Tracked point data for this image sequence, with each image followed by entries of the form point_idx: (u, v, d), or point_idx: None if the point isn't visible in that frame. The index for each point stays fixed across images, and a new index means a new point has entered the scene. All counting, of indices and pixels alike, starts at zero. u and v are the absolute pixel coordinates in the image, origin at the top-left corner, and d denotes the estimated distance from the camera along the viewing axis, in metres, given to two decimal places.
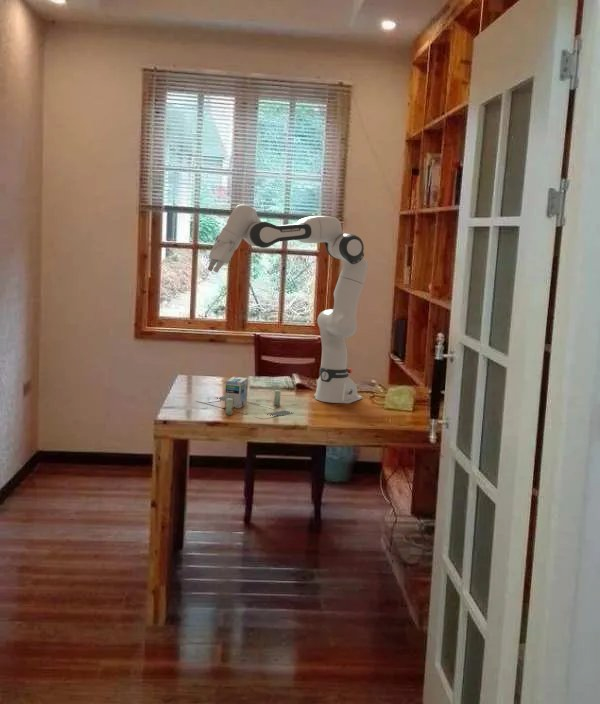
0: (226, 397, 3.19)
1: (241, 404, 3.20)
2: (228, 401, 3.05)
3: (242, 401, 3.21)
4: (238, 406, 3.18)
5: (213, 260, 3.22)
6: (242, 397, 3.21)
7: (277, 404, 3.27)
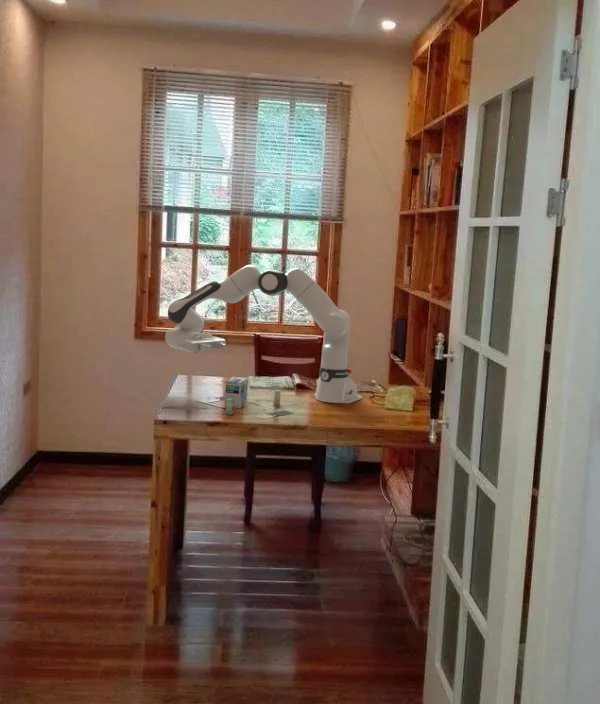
0: (226, 397, 3.19)
1: (241, 404, 3.20)
2: (228, 401, 3.05)
3: (242, 401, 3.21)
4: (238, 406, 3.18)
5: (217, 345, 3.35)
6: (242, 397, 3.21)
7: (277, 404, 3.27)
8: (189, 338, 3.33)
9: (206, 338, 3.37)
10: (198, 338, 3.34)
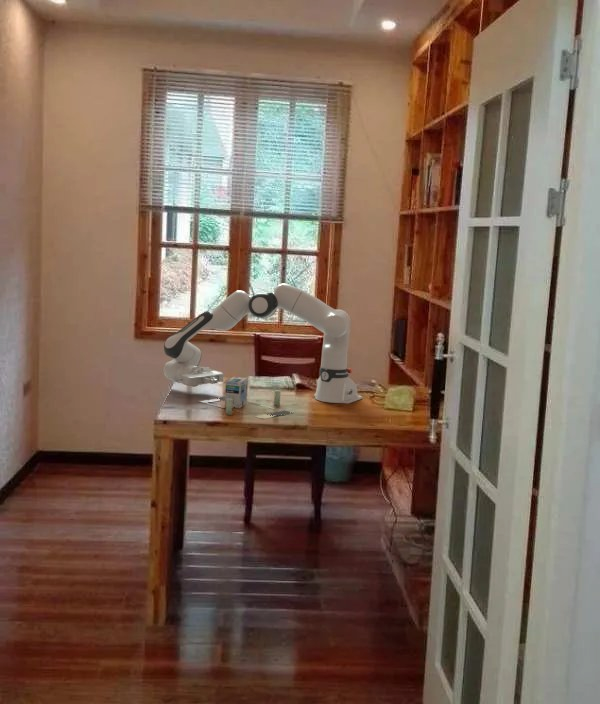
0: (226, 397, 3.19)
1: (241, 404, 3.20)
2: (228, 401, 3.05)
3: (242, 401, 3.21)
4: (238, 406, 3.18)
5: None
6: (242, 397, 3.21)
7: (277, 404, 3.27)
8: (187, 372, 3.36)
9: (204, 372, 3.40)
10: (196, 372, 3.36)
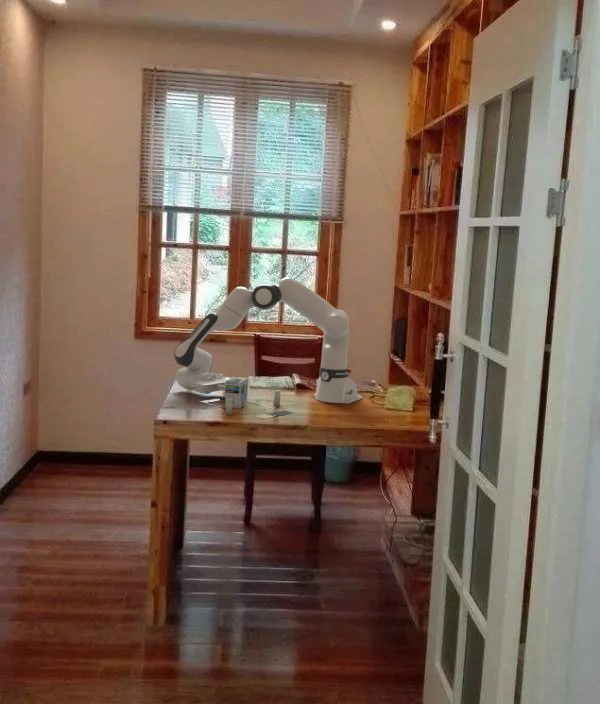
0: (226, 397, 3.19)
1: (241, 404, 3.20)
2: (228, 401, 3.05)
3: (242, 401, 3.21)
4: (238, 406, 3.18)
5: None
6: (243, 397, 3.21)
7: (277, 404, 3.27)
8: (200, 379, 3.31)
9: (217, 378, 3.35)
10: (209, 379, 3.32)
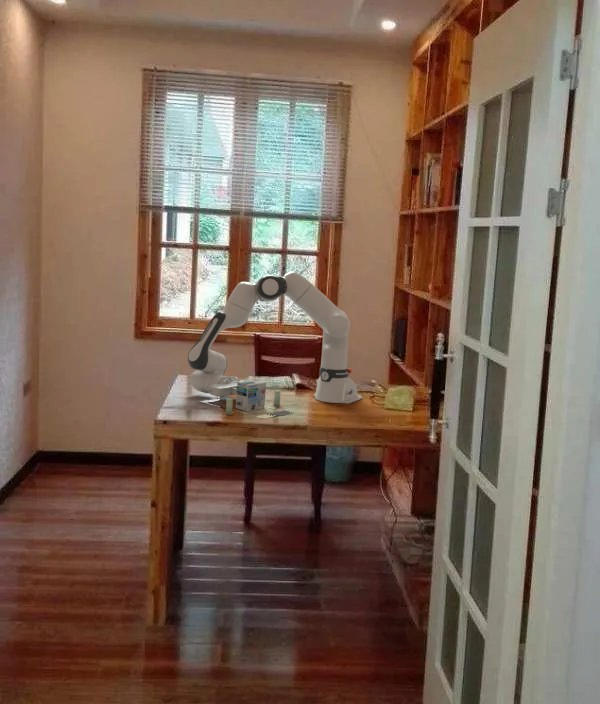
0: (237, 399, 3.16)
1: (250, 407, 3.14)
2: (228, 401, 3.05)
3: (252, 405, 3.15)
4: (245, 409, 3.14)
5: None
6: (253, 401, 3.15)
7: (277, 404, 3.27)
8: (215, 382, 3.25)
9: (232, 381, 3.29)
10: (224, 382, 3.26)
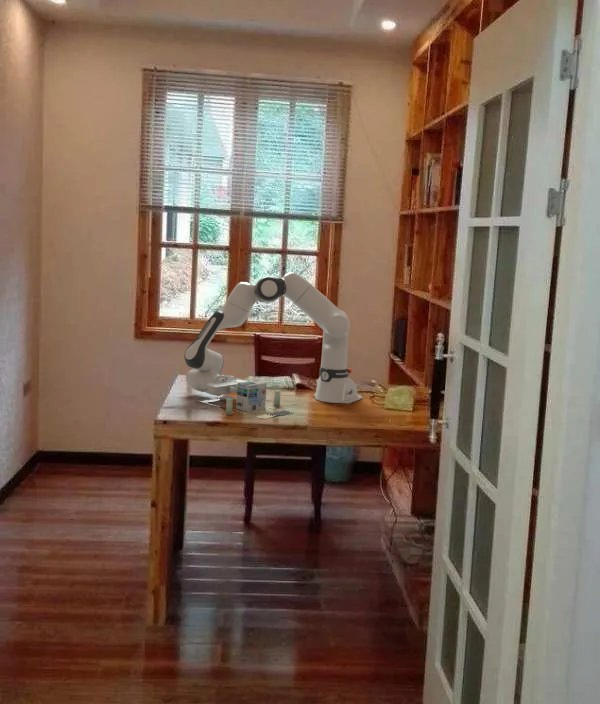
0: (237, 399, 3.16)
1: (251, 408, 3.14)
2: (228, 401, 3.05)
3: (253, 405, 3.15)
4: (246, 410, 3.13)
5: None
6: (254, 401, 3.15)
7: (277, 404, 3.27)
8: (211, 381, 3.26)
9: (229, 380, 3.30)
10: (221, 381, 3.27)
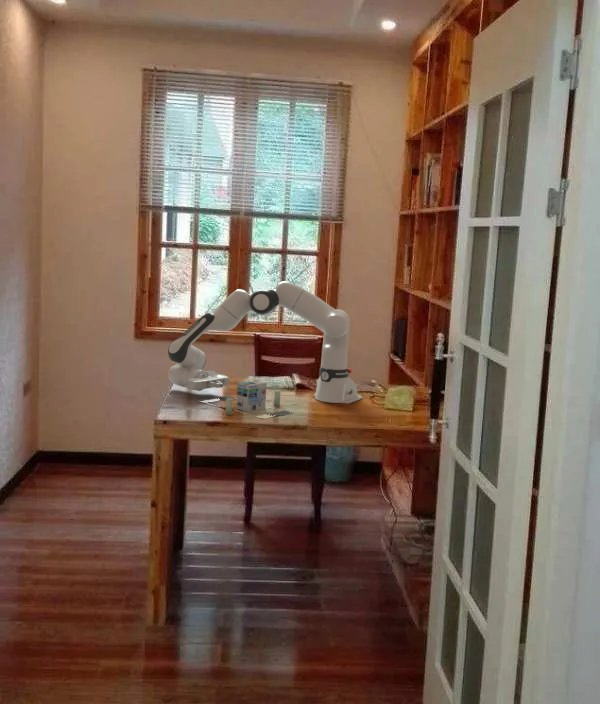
0: (237, 399, 3.16)
1: (251, 408, 3.14)
2: (228, 401, 3.05)
3: (253, 405, 3.15)
4: (246, 409, 3.13)
5: None
6: (254, 401, 3.15)
7: (277, 404, 3.27)
8: (192, 376, 3.34)
9: (209, 376, 3.38)
10: (201, 376, 3.34)
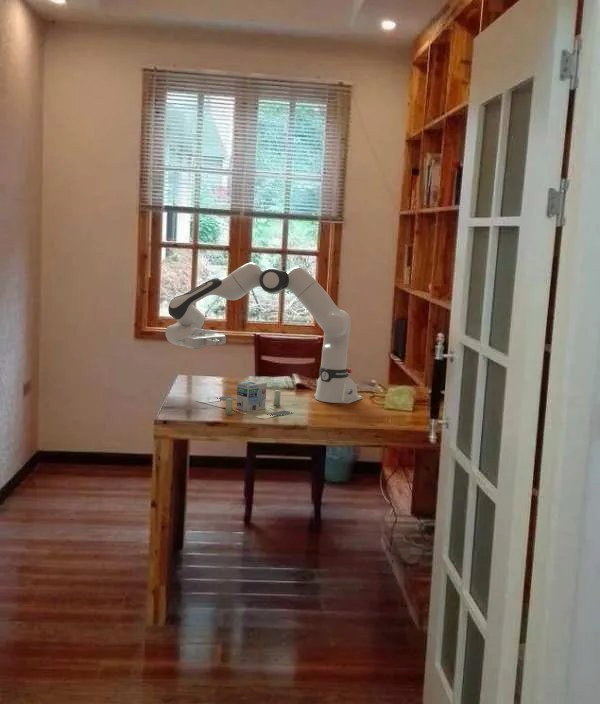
0: (237, 399, 3.16)
1: (251, 408, 3.14)
2: (228, 401, 3.05)
3: (253, 405, 3.15)
4: (246, 409, 3.13)
5: None
6: (254, 401, 3.15)
7: (277, 404, 3.27)
8: (189, 334, 3.33)
9: (206, 334, 3.37)
10: (198, 334, 3.33)
